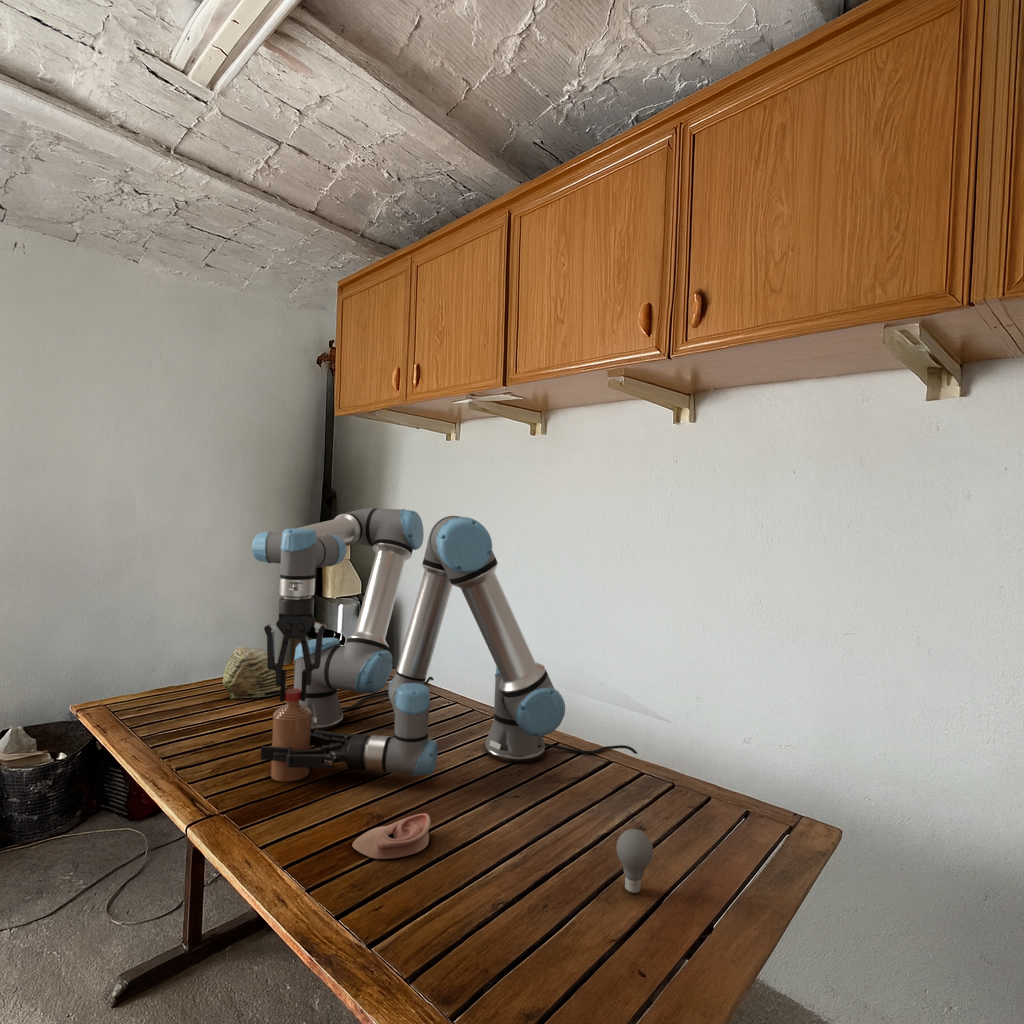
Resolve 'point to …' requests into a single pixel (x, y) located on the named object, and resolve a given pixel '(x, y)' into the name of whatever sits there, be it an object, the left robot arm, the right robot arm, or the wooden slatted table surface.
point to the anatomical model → (395, 838)
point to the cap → (292, 695)
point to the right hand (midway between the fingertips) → (271, 744)
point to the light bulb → (634, 857)
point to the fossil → (249, 674)
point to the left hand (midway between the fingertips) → (293, 699)
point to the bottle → (291, 738)
